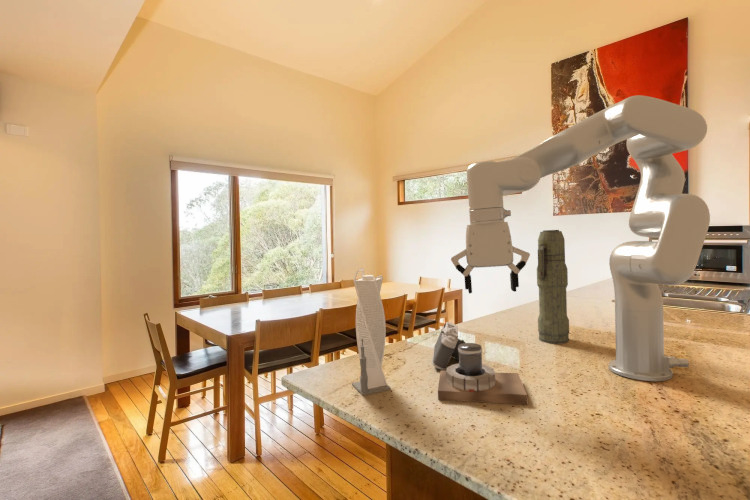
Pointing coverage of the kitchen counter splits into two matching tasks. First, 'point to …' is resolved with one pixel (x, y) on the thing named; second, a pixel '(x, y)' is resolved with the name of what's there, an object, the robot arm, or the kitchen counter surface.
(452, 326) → the camera
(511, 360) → the kitchen counter surface
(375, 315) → the skyscraper
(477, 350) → the lens
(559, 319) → the thermos
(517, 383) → the mount board
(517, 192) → the robot arm
